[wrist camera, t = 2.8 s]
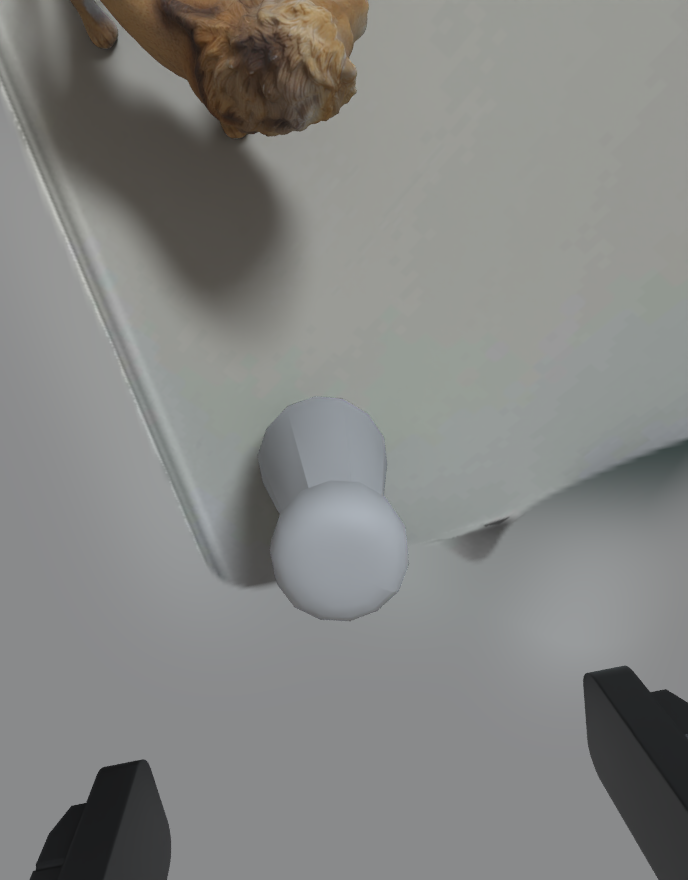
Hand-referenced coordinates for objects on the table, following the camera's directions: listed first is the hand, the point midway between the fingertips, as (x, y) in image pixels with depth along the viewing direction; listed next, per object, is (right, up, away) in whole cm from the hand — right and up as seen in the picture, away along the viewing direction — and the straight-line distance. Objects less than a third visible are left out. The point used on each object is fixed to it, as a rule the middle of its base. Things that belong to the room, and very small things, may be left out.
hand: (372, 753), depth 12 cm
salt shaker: (-2, +5, +20) cm, 21 cm away
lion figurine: (-7, +22, +15) cm, 27 cm away
